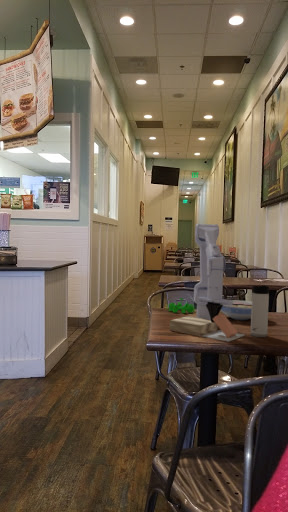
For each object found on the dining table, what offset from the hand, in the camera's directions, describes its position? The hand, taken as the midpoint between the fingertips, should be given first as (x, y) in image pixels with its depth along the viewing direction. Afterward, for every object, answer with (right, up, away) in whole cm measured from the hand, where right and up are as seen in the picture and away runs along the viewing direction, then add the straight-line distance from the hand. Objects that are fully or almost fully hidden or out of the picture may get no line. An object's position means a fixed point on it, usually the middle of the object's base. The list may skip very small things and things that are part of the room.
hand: (213, 322), depth 157 cm
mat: (+3, -5, -3) cm, 7 cm away
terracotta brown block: (+3, -2, -3) cm, 5 cm away
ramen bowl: (+19, -4, +35) cm, 40 cm away
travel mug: (+18, -6, 0) cm, 18 cm away
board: (-7, -4, +6) cm, 10 cm away
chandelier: (-8, -3, +51) cm, 51 cm away
